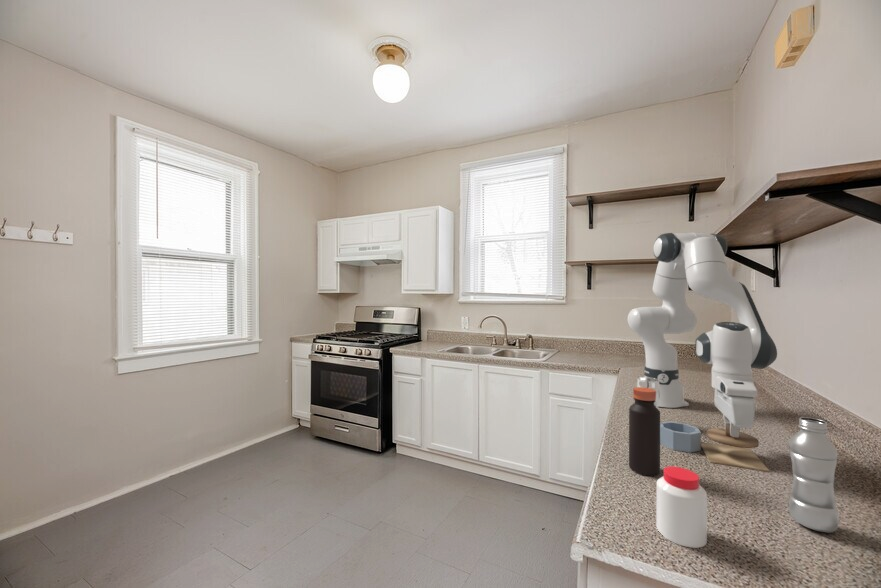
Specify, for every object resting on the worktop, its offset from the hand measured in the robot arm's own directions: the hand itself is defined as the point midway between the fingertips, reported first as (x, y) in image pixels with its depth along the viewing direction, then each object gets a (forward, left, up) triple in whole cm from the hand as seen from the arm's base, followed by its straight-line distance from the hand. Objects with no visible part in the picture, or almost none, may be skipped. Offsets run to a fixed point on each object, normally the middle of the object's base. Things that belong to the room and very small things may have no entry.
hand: (731, 433), depth 99 cm
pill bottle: (+44, -18, -6) cm, 48 cm away
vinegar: (+19, -22, -6) cm, 30 cm away
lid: (0, 0, -2) cm, 2 cm away
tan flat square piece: (0, 0, -6) cm, 6 cm away
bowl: (-3, -12, -6) cm, 13 cm away
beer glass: (-20, -18, -6) cm, 28 cm away
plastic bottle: (+31, +5, -6) cm, 32 cm away
